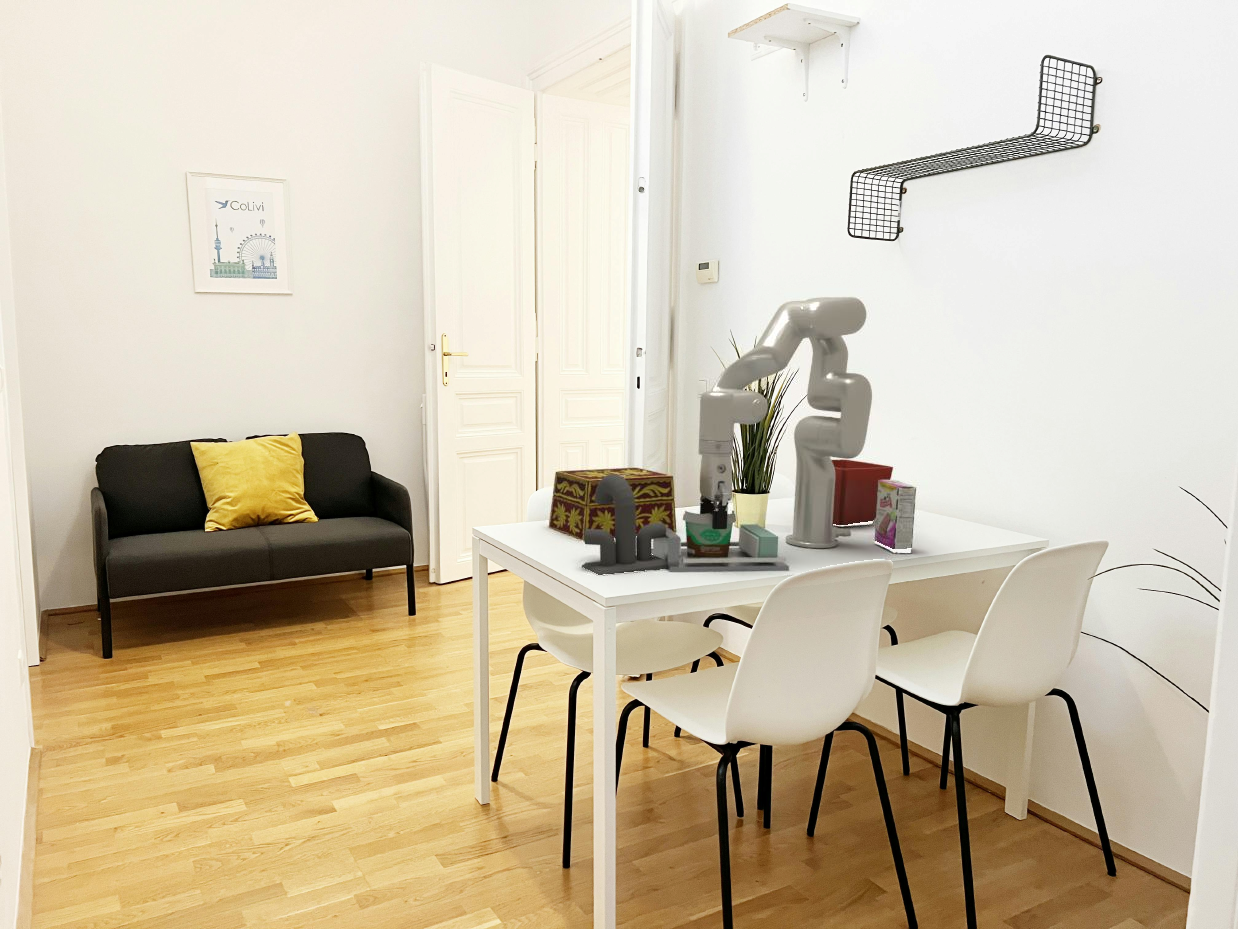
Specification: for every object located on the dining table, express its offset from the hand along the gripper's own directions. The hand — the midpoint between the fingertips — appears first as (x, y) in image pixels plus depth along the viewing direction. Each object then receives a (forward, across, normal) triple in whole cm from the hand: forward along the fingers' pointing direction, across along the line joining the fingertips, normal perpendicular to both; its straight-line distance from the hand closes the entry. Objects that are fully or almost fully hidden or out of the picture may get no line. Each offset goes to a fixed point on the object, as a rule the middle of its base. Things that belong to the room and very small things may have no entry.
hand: (712, 524), depth 204 cm
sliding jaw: (+7, 0, -10) cm, 13 cm away
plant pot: (+10, +45, -51) cm, 69 cm away
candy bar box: (+9, +11, -49) cm, 51 cm away
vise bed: (+8, 0, -1) cm, 8 cm away
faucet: (+9, -2, +22) cm, 23 cm away
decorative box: (+9, +36, +16) cm, 40 cm away
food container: (+7, 0, 0) cm, 8 cm away
